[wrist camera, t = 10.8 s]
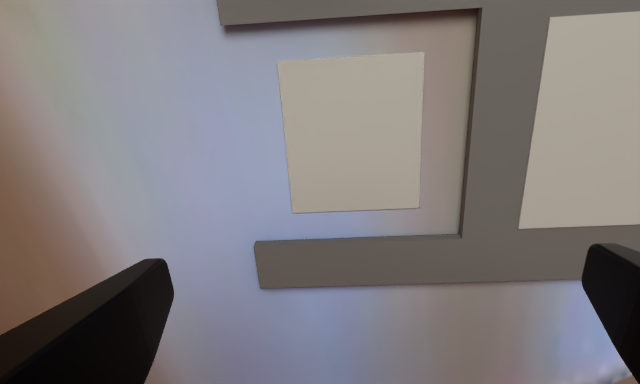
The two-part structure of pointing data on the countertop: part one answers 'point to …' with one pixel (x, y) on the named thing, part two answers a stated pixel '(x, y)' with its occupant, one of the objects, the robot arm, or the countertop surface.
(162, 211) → the countertop surface
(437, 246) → the label board
